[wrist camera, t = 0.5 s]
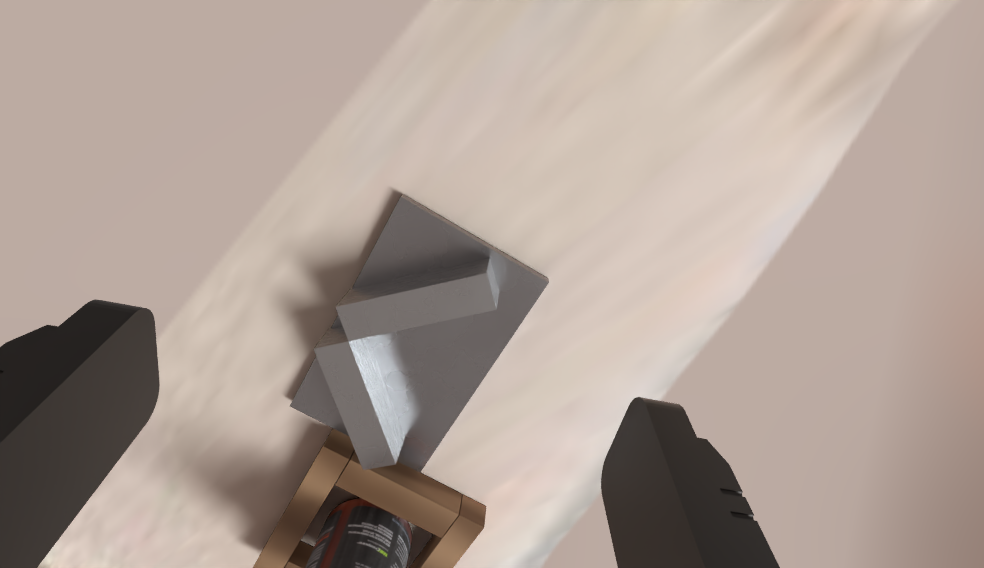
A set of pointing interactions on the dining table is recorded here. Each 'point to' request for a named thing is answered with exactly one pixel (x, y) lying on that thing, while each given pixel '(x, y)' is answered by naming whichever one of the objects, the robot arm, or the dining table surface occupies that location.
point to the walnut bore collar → (385, 488)
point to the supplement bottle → (362, 538)
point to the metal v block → (415, 337)
